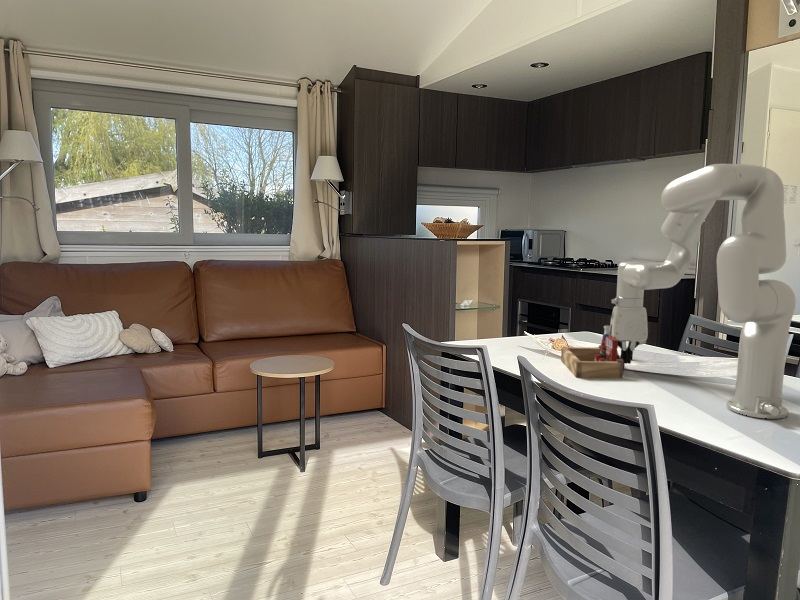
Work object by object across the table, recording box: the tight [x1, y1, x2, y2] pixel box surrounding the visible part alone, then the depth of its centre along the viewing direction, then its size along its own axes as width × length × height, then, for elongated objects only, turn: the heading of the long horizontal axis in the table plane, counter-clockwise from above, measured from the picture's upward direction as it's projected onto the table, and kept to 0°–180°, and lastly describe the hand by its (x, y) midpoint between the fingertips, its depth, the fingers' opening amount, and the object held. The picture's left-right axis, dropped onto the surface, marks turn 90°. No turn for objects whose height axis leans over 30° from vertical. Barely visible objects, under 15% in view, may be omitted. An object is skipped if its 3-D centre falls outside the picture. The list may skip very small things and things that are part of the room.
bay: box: [560, 345, 624, 379], centre depth 178 cm, size 19×13×5 cm
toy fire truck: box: [594, 333, 626, 371], centre depth 177 cm, size 7×12×10 cm, turn 176°
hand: (626, 362), depth 177 cm, fingers closed
